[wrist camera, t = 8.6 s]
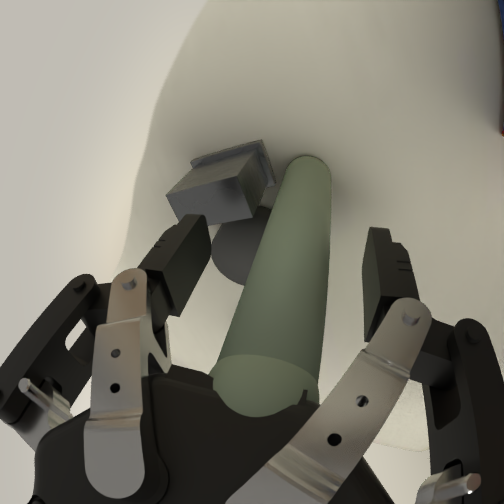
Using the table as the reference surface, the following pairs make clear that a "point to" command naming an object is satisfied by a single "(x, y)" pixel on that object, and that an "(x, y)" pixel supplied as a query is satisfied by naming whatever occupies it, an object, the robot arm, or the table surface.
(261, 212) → the rubber door stop
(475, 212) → the table surface
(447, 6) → the table surface
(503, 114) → the table surface
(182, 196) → the latch block
